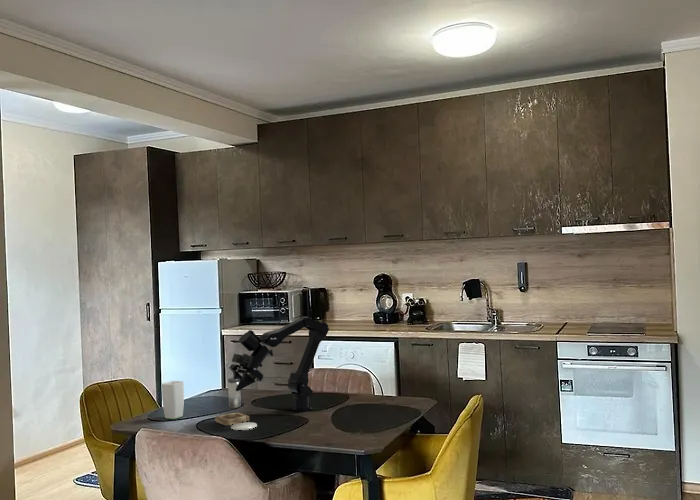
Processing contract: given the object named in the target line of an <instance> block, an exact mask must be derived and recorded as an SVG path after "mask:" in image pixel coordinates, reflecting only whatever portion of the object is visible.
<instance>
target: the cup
mask: <svg viewBox="0 0 700 500" xmlns="http://www.w3.org/2000/svg"><path fill="white" fill-rule="evenodd" d="M184 385H185V384H184V381H182V380H181V381H179V380H170V381H166V382H163V383H161V398H162V399H161V401H162V407H163V412H164V418H165V419H167V420H177V419H180V418H182V417H183V415H184V404H185V403H184V402H185V395H184V394H185V392H184V391H185V390H184V389H185V388H184Z"/></svg>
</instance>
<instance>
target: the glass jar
mask: <svg viewBox="0 0 700 500" xmlns="http://www.w3.org/2000/svg"><path fill="white" fill-rule="evenodd" d="M239 383H240V378H238V377H234V378H233V377H229V378H227V386H228V407H229V408H233V409H234V408H235V409H236V408H240V407H241V406H242V402H241V390H239V391H236V388H237V386H238V384H239Z"/></svg>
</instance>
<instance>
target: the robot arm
mask: <svg viewBox="0 0 700 500" xmlns="http://www.w3.org/2000/svg"><path fill="white" fill-rule="evenodd" d="M304 328H305V329H306V330H308V341H307V344H306V346H305V349H304V352H303V355H302V357H301V360H300V363H299V366H298V367H297V370H296V371H295V372H291V373H290V375H289V379H288V380H287V387H288V389H289V392H291V395H292V396H293V401H292V402H293V404H292V405H293V407H292V409H291V410H293V411H296V412H300V413H302V412H306V411H310V410H313V407H311V397H312V395H313V392H314V391H313V389H312V388H311V387H310V386H309V382H310V381H309V380H310V379H309V373H310V369H311V367H312V364H313V362H314V359H315V357H316V354H317V351H318V349H319V346H320V344H321V342H323V340H324V339H326V336H327V334H328V333H329V330H330V327H329V325H328V323H327V322H325V321H318V320H315V319H313V318H311V317H309V316H300V317H299V318H298V319H296V320H294V321H292V322H290V323H288V324H286V325H284V326H282V327H280V328H278V329H273V330H270V331H267V332H264V333H262V335H260V336H258V335H256V333H255V332H254V331H253V330H252V329H249V330H248V331H247V332H245V333H244V334H242V335H241V336H240V338H239V339H238V343H239V344H241V346H243V348H245V350H247V351H248V352H251V351H252V352H251V354H247V353H243V354H237V353H233V357H232V359H231V362H232V364H231V365H230V366H229V367H228V369H229V370H230V371H231V372H232V373H233V377H232V378H234V377H238V378H240V383H239V384H238V386H237V388H236V391H239V390H240V391H241V390H243V389H245V388H246V387H248V386H250V385H252V384H254V383H256V382H259V383H261V382H262V381H263V379H264V374H263V373H262V372H261V371H260V370H259V368H262V367H263V364H262V363H263V362H264V361H265V359H266V358H267V356H268V357H273V356H274V353H273V349H271V348H275V347H277V346H279V345H280V344H281V343H283V341H284V340H285V339H286V338H287V337H289V336H291V335H293V334H295V333H296V332H298V331H300V330H302V329H304ZM268 347H269V348H270V347H271V348H270V349H269V348H268Z"/></svg>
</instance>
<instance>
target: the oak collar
mask: <svg viewBox="0 0 700 500" xmlns="http://www.w3.org/2000/svg"><path fill="white" fill-rule="evenodd" d="M214 417H215V422H216V423H218V424H221V425H224V426H226V427H228V426H232V424H233V425H234V424H237V423H242V422H243V423H244V422H247V421H248V422H250V415H247V414H244V413H241V412H233V413H232V412H231V413H228V414H222V415H215V416H214ZM227 425H228V426H227Z"/></svg>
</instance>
